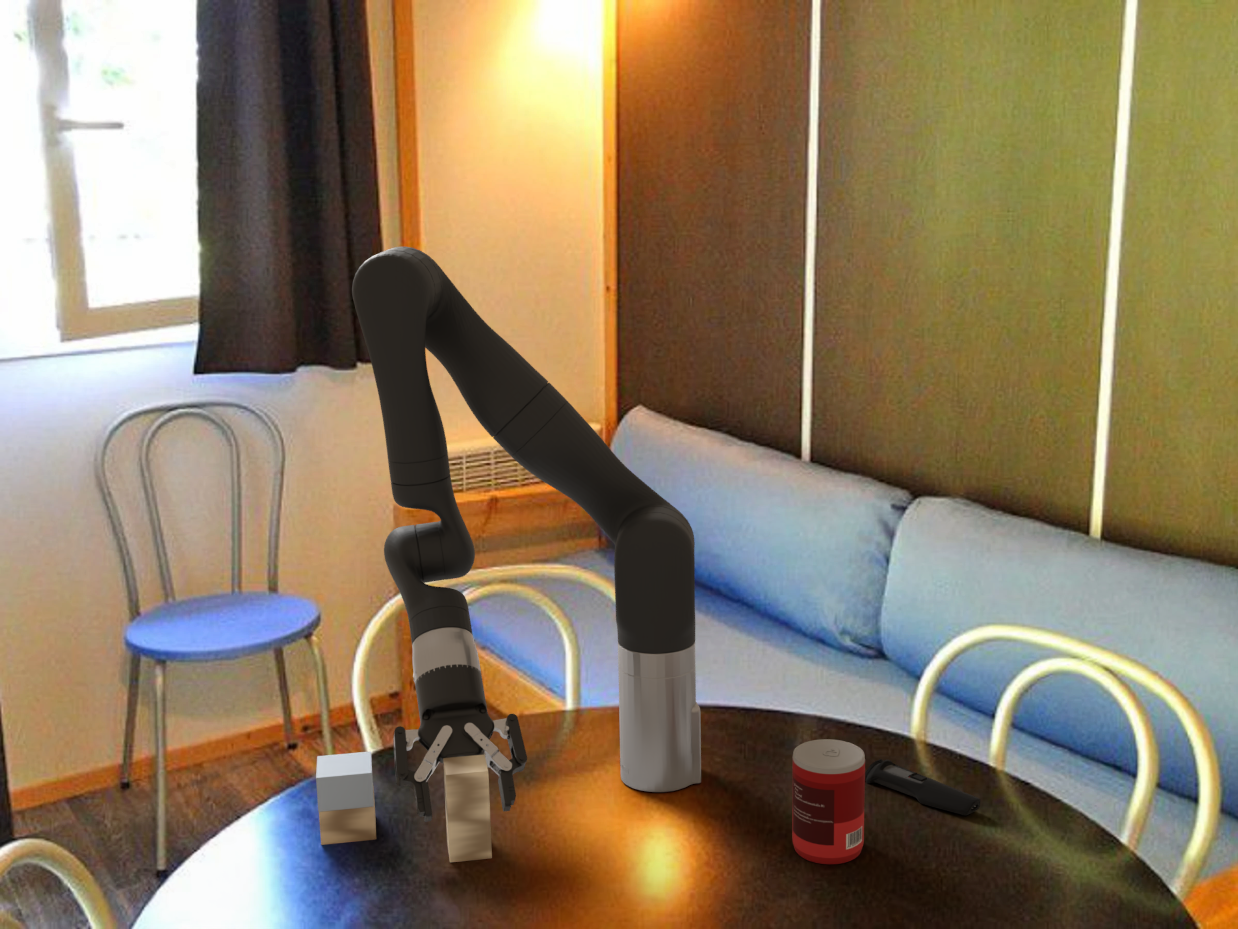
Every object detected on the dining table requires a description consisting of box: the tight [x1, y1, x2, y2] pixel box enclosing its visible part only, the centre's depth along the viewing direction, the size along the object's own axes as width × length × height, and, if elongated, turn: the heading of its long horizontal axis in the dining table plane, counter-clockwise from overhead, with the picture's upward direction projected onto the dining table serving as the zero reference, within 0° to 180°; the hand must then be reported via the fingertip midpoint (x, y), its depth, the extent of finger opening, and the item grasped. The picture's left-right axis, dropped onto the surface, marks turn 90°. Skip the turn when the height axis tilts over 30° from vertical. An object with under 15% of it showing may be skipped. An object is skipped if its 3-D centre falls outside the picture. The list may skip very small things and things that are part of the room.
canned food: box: [791, 738, 866, 865], centre depth 152 cm, size 8×8×11 cm
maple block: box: [442, 754, 493, 863], centre depth 153 cm, size 4×4×10 cm
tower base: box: [318, 783, 377, 846], centre depth 160 cm, size 6×6×4 cm
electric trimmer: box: [865, 758, 981, 816], centre depth 165 cm, size 4×16×3 cm, turn 40°
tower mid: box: [315, 750, 375, 813], centre depth 159 cm, size 6×6×4 cm
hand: (468, 814), depth 152 cm, fingers open, 8 cm apart
